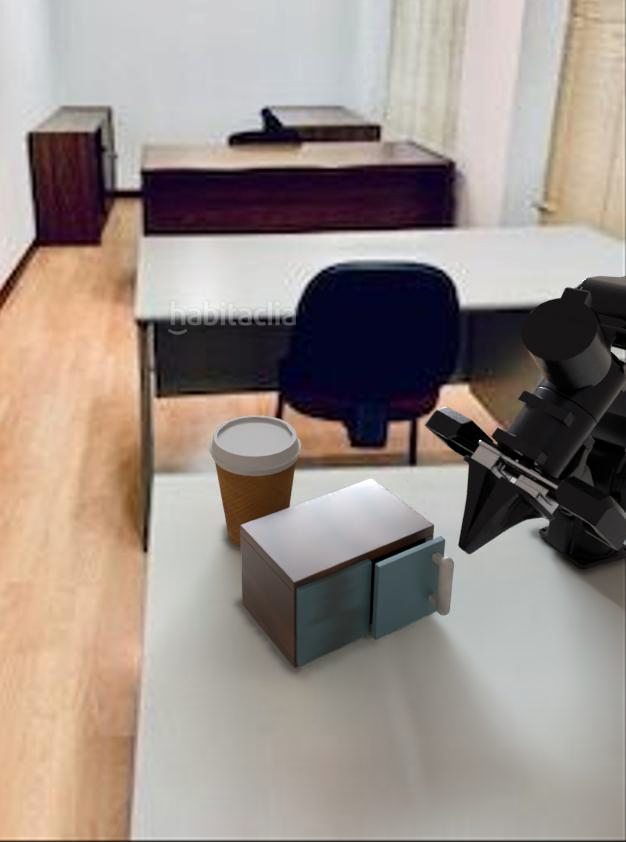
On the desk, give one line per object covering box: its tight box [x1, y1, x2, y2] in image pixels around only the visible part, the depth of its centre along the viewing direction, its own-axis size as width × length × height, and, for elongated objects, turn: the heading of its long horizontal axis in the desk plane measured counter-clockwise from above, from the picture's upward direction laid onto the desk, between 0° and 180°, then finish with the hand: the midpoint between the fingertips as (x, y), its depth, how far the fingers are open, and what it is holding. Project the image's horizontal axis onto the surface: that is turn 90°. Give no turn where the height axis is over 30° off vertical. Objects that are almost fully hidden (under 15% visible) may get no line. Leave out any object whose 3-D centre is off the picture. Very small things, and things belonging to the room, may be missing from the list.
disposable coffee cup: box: [208, 414, 302, 548], centre depth 80 cm, size 10×10×12 cm
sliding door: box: [371, 535, 455, 641], centre depth 66 cm, size 7×3×8 cm, turn 119°
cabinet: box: [240, 478, 435, 669], centre depth 70 cm, size 15×10×9 cm, turn 119°
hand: (463, 550), depth 66 cm, fingers closed
